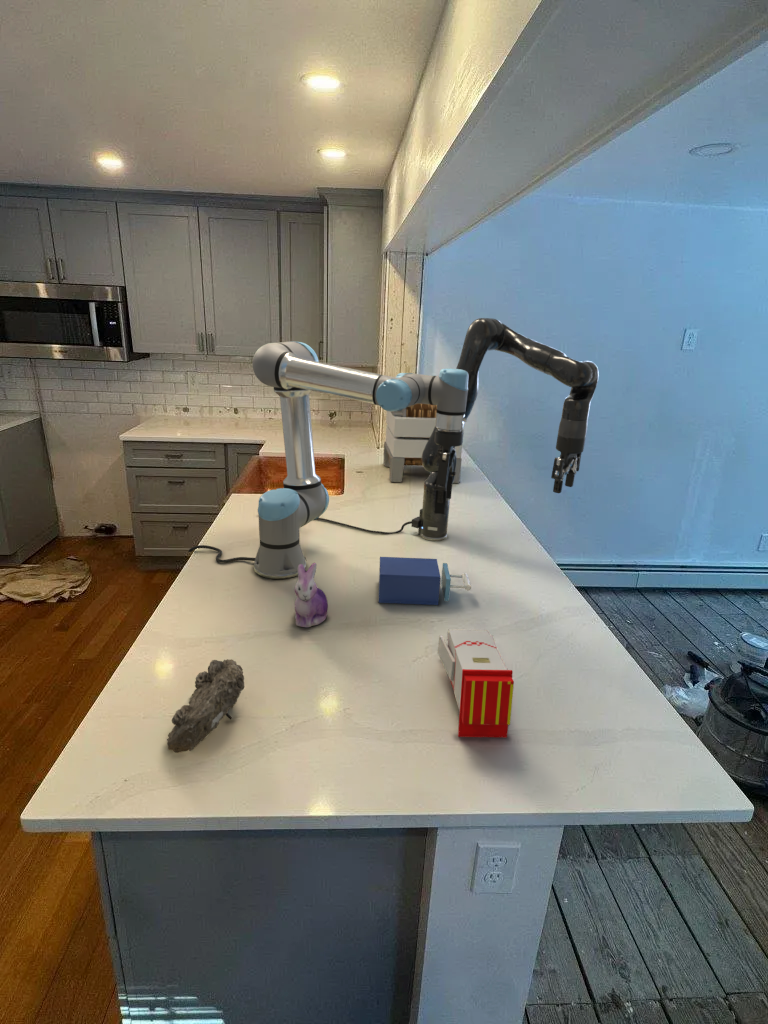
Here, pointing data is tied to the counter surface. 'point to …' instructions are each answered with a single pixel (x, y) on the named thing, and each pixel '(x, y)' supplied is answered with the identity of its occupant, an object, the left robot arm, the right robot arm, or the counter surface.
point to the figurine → (309, 599)
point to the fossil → (206, 705)
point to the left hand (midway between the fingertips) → (442, 505)
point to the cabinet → (409, 581)
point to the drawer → (446, 582)
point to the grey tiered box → (411, 439)
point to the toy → (478, 682)
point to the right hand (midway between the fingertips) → (562, 489)
